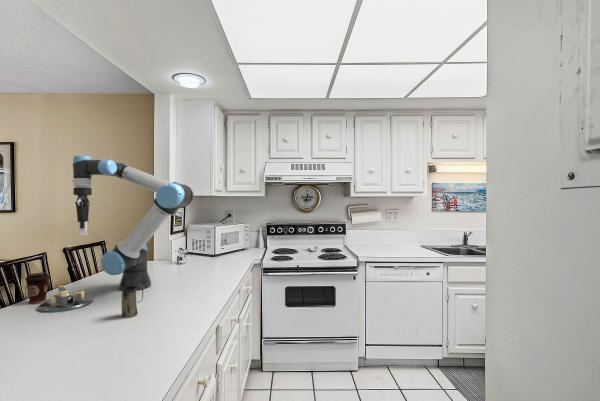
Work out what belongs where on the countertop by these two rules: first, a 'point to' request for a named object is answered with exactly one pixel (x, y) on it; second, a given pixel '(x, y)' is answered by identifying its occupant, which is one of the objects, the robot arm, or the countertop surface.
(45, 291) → the coffee cup
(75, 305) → the candle tray
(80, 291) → the knob
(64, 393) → the countertop surface
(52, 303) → the knob
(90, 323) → the countertop surface
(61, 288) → the knob
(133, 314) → the mug
